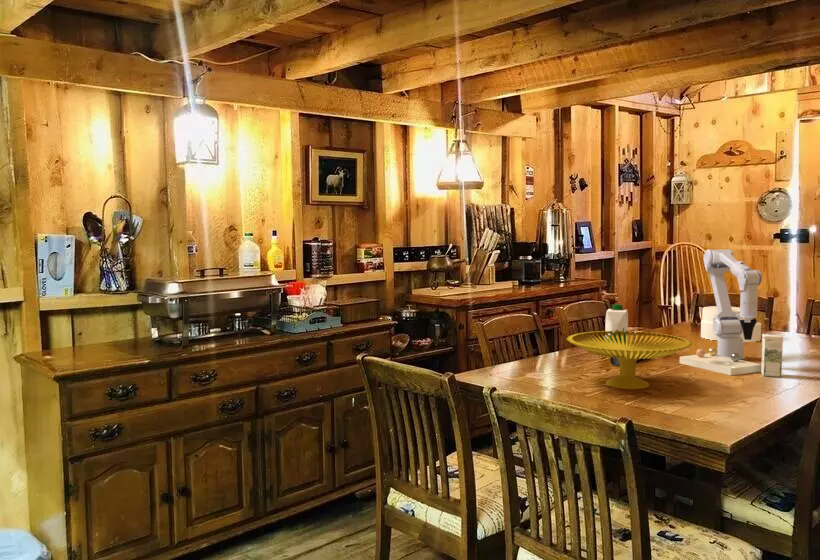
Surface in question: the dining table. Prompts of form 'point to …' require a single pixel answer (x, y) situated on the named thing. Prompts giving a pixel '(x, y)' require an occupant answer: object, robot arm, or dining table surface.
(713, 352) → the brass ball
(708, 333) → the container
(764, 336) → the syrup box
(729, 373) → the hole plate
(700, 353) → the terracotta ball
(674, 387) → the dining table surface
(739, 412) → the dining table surface
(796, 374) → the dining table surface
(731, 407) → the dining table surface
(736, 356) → the steel ball
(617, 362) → the flashlight
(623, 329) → the milk carton
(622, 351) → the cake stand
